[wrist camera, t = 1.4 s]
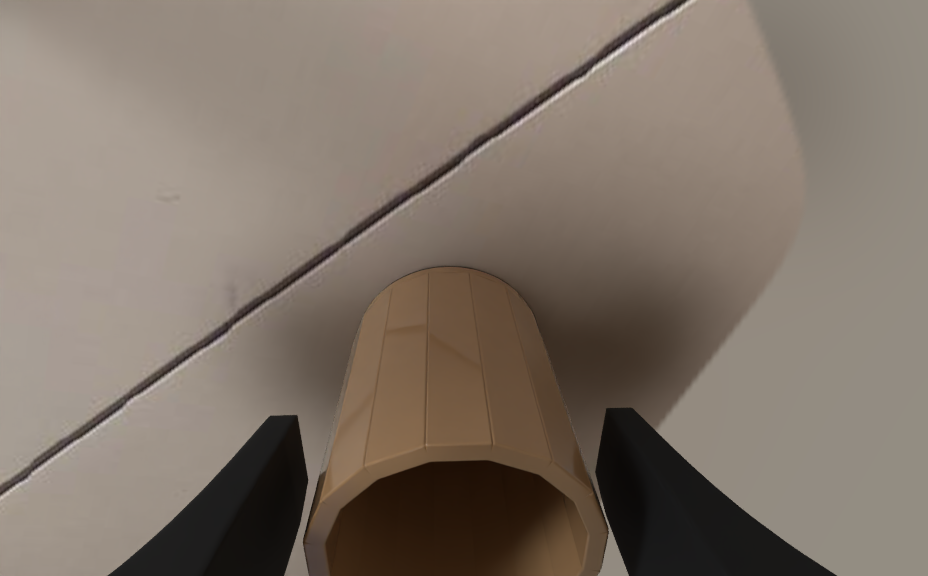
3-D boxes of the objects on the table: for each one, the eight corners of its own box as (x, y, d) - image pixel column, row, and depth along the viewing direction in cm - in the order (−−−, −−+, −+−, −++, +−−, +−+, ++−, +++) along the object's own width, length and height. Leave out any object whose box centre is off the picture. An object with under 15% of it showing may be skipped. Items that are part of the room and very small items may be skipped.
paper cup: (532, 418, 17) (588, 639, 11) (363, 422, 17) (322, 652, 11) (547, 265, 15) (628, 440, 9) (348, 266, 15) (284, 449, 8)
